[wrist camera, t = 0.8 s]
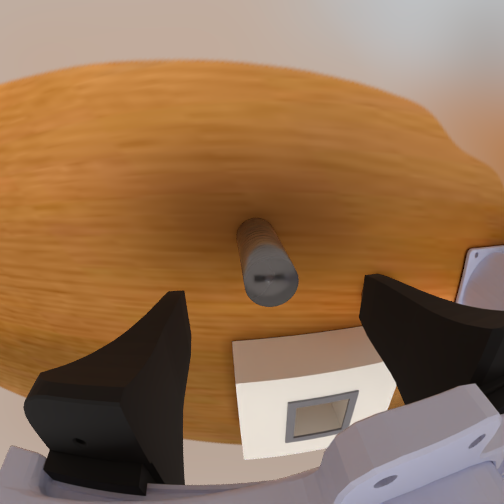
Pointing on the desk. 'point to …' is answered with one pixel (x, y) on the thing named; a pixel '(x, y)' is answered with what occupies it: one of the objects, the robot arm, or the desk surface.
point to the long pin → (265, 264)
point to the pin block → (306, 389)
